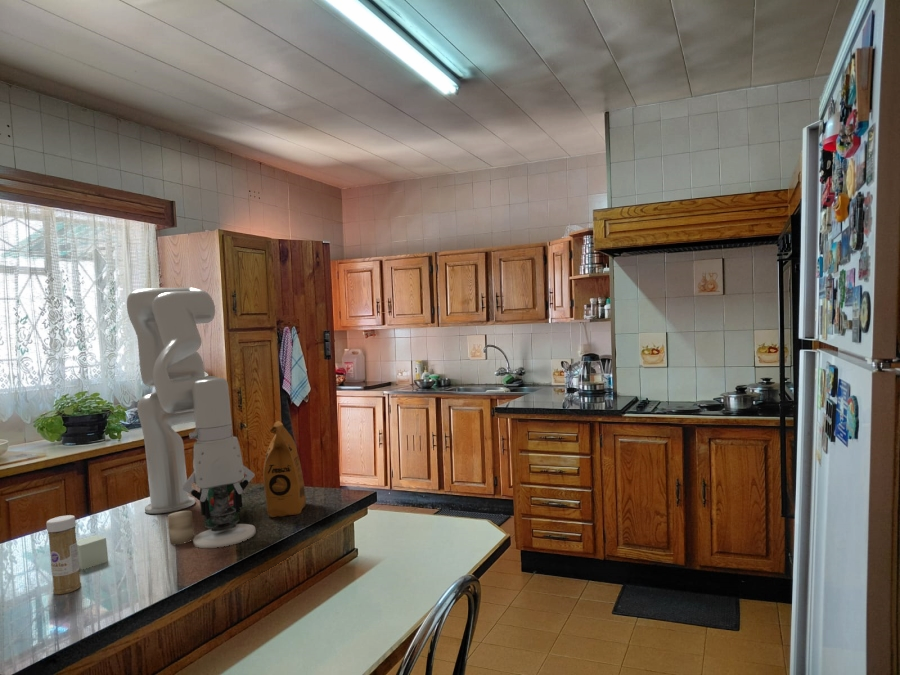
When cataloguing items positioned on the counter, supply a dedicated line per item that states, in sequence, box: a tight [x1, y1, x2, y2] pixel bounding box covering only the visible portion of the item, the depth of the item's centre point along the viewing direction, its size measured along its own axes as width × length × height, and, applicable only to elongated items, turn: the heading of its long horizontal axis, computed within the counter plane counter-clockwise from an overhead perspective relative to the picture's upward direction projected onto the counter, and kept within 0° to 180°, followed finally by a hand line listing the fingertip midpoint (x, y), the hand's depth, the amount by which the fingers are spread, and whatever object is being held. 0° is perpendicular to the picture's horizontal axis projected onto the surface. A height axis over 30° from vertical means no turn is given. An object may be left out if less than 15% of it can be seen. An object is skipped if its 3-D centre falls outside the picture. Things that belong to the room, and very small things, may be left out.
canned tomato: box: [203, 484, 240, 529], centre depth 153 cm, size 8×8×11 cm
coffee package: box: [262, 420, 306, 518], centre depth 159 cm, size 10×12×22 cm
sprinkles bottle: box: [46, 514, 82, 595], centre depth 117 cm, size 5×5×13 cm
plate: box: [192, 523, 256, 549], centre depth 141 cm, size 13×13×1 cm
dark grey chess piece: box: [210, 485, 237, 532], centre depth 141 cm, size 6×6×12 cm
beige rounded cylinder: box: [167, 510, 195, 545], centre depth 142 cm, size 5×5×6 cm
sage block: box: [76, 534, 109, 571], centre depth 131 cm, size 5×5×5 cm
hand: (222, 513), depth 141 cm, fingers closed on dark grey chess piece, 5 cm apart
